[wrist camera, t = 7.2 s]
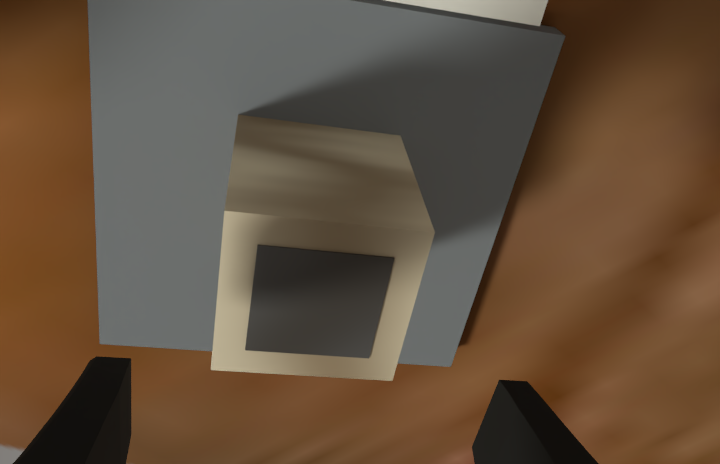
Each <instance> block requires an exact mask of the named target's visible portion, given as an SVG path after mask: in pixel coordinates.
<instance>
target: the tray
mask: <svg viewBox="0 0 720 464" xmlns="http://www.w3.org/2000/svg"><path fill="white" fill-rule="evenodd" d="M385 1H391V2H397V3H403V4H409V5H415V6H421V7H427V8H433V9H439V10H445V11H451V12H457V13H463V14H469V15H475V16H481V17H487V18H493V19H499V20H505V21H511V22H517V23H523V24H529V25H535V26H540V24H541V21H542V18H543V15H544V11H545V8H546V5H547V2H548V0H385Z"/></svg>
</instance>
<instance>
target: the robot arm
mask: <svg viewBox="0 0 720 464" xmlns="http://www.w3.org/2000/svg"><path fill="white" fill-rule="evenodd" d="M130 438H131V359H130V358H113V357H95V358H93V359H92V360H90V361H89V363H88V365H87V366H86V368H85V370H84V371H83V373H82V374H81V376H80V377H79V379H78V380H77V382H76V383H75V385H74V386H73V388H72V389H71V391H70V392H69V393H68V395H67V396H66V398H65V399H64V400H63V402H62V403H61V404H60V406H59V407H58V408H57V410H56V411H55V413H54V414H53V415H52V417H51V418H50V419H49V420H48V422H47V423H46V424H45V425H44V427H43V428H42V429H41V430H40V432H39V433H38V434H37V435H36V437H35V438H34V439H33V440H32V442H31V443H30V444H29V445H28V447H27V448H26V449H25V450H24V451H23V453H22V454H21V455H20V457H18V459H17V460H16V461H15V462H14V463H13V464H126V459H127V454H128V449H129V443H130ZM472 449H473V456H474V462H475V464H598V463H597V462H596V460H595V459H594V458H593V457H592V456H591V455H590V454H589V453H588V451H587V450H586V449H585V448H584V447H583V446H582V445H581V443H580V442H579V441H578V440H577V439H576V438H575V437H574V435H573V434H572V433H571V432H570V431H569V430H568V428H567V427H566V426H565V425H564V424H563V423H562V421H561V420H560V419H559V418H558V417H557V415H556V414H555V413H554V412H553V411H552V410H551V408H550V407H549V406H548V405H547V404H546V402H545V401H544V400H543V399H542V398H541V397H540V395H539V394H538V393H537V392H536V391H535V390H534V389H533V387H532V386H531V385H530V384H529V383H528V382H527V381H510V380H499V382H498V384H497V387H496V389H495V392H494V394H493V397H492V399H491V402H490V404H489V406H488V409H487V411H486V414H485V416H484V419H483V421H482V424H481V426H480V429H479V431H478V434H477V436H476V438H475V441H474V443H473V446H472Z"/></svg>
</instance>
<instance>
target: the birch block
mask: <svg viewBox="0 0 720 464" xmlns="http://www.w3.org/2000/svg"><path fill="white" fill-rule="evenodd" d="M434 234H435V231H434V228H433V225H432V223H431V220H430V217H429V214H428V211H427V209H426V206H425V203H424V200H423V197H422V195H421V192H420V189H419V186H418V183H417V181H416V178H415V175H414V172H413V169H412V166H411V164H410V161H409V158H408V155H407V152H406V150H405V147H404V144H403V141H402V138H401V136H400V135H392V134H384V133H377V132H369V131H361V130H353V129H346V128H338V127H330V126H323V125H315V124H307V123H299V122H292V121H284V120H276V119H269V118H261V117H253V116H245V115H238V119H237V126H236V133H235V140H234V147H233V154H232V161H231V168H230V175H229V182H228V189H227V196H226V203H225V210H224V221H223V232H222V244H221V256H220V268H219V279H218V291H217V303H216V315H215V326H214V338H213V350H212V362H211V370H220V371H237V372H254V373H270V374H287V375H303V376H320V377H337V378H353V379H370V380H387V381H392V380H393V377H394V373H395V370H396V366H397V363H398V359H399V356H400V352H401V349H402V345H403V342H404V338H405V335H406V331H407V328H408V325H409V321H410V318H411V314H412V311H413V307H414V304H415V300H416V297H417V293H418V290H419V286H420V283H421V279H422V276H423V272H424V269H425V265H426V262H427V258H428V255H429V251H430V248H431V244H432V241H433V238H434Z"/></svg>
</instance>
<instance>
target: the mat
mask: <svg viewBox="0 0 720 464" xmlns="http://www.w3.org/2000/svg"><path fill="white" fill-rule="evenodd" d="M88 26H89V54H90V82H91V110H92V138H93V166H94V195H95V223H96V251H97V279H98V307H99V335H100V344H109V345H125V346H140V347H156V348H171V349H186V350H202V351H212V350H213V338H214V326H215V315H216V303H217V291H218V279H219V268H220V256H221V244H222V232H223V221H224V210H225V203H226V196H227V189H228V182H229V175H230V168H231V161H232V154H233V147H234V140H235V133H236V126H237V119H238V115H245V116H253V117H261V118H269V119H276V120H284V121H292V122H299V123H307V124H315V125H323V126H330V127H338V128H346V129H353V130H361V131H369V132H377V133H384V134H392V135H400V136H401V138H402V141H403V144H404V147H405V150H406V152H407V155H408V158H409V161H410V164H411V166H412V169H413V172H414V175H415V178H416V181H417V183H418V186H419V189H420V192H421V195H422V197H423V200H424V203H425V206H426V209H427V211H428V214H429V217H430V220H431V223H432V225H433V228H434V231H435V234H434V238H433V241H432V244H431V248H430V251H429V255H428V258H427V262H426V265H425V269H424V272H423V276H422V279H421V283H420V286H419V290H418V293H417V297H416V300H415V304H414V307H413V311H412V314H411V318H410V321H409V325H408V328H407V331H406V335H405V338H404V342H403V345H402V349H401V352H400V356H399V359H398V363H401V364H416V365H432V366H447V367H451V365H452V362H453V359H454V356H455V353H456V350H457V347H458V344H459V341H460V339H461V336H462V333H463V330H464V327H465V324H466V321H467V318H468V315H469V313H470V310H471V307H472V304H473V301H474V298H475V295H476V292H477V290H478V287H479V284H480V281H481V278H482V275H483V272H484V269H485V266H486V264H487V261H488V258H489V255H490V252H491V249H492V246H493V243H494V240H495V238H496V235H497V232H498V229H499V226H500V223H501V220H502V217H503V215H504V212H505V209H506V206H507V203H508V200H509V197H510V194H511V191H512V189H513V186H514V183H515V180H516V177H517V174H518V171H519V168H520V165H521V163H522V160H523V157H524V154H525V151H526V148H527V145H528V142H529V139H530V137H531V134H532V131H533V128H534V125H535V122H536V119H537V116H538V114H539V111H540V108H541V105H542V102H543V99H544V96H545V93H546V90H547V88H548V85H549V82H550V79H551V76H552V73H553V70H554V67H555V64H556V62H557V59H558V56H559V53H560V50H561V47H562V44H563V41H564V39H565V35H564V34H562V33H561V32H560V31H559V30H558V29H556V28H555V27H550V26H544V25H540V26H535V25H529V24H523V23H517V22H511V21H505V20H499V19H493V18H487V17H481V16H475V15H469V14H463V13H457V12H451V11H445V10H439V9H433V8H427V7H421V6H415V5H409V4H403V3H397V2H391V1H385V0H88Z"/></svg>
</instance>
